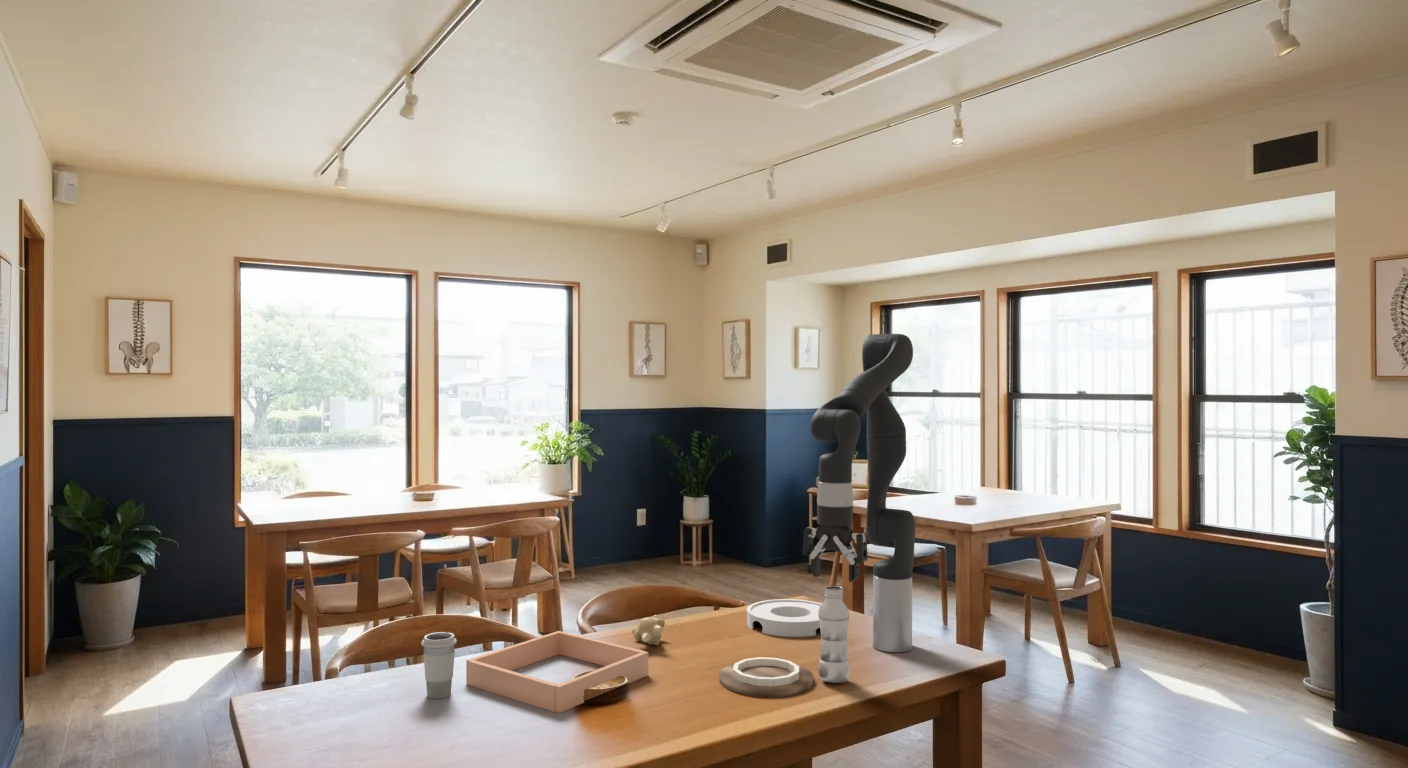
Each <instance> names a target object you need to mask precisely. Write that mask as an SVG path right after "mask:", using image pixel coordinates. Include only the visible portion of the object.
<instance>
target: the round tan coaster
mask: <svg viewBox="0 0 1408 768" xmlns="http://www.w3.org/2000/svg"><path fill="white" fill-rule="evenodd" d="M735 663H736V662H735ZM735 663H731V664H728V665H726V666H725V667H723V668H722V669H720V671H719V678H718V679H719V683H720V685H721V686H722V687H724V688H725V689H727V690H729V691H731V692H734V693H735V694H740V695H745V696H750V697H757V696H758V698H779V697H780V698H781V697H782V698H783V697H789V696H795V695H799V694H802V693H804V692H806V691H808V690H810V689H811V688H812V686H813V684H814V674H813V673H812V672H811V671H810V670H809V669H808V668H806V667H804V666H802V665H799V664H797V665H798V666H799V679H798V680H796V681H794V682H793V683H791V684H786V685H780V686H755V685H751V684H747V683H743V682H740V681H739V680H737V679H736V678H734V677H733V667H734V664H735ZM740 671H741V672H743V673H744V674H747V675H752V676H756V677H779V676H786V675H788V674H790V673H792V672H791V671H790V670H788V669H785V668H781V667H776V666H753V667H747V668H744V669H742V670H740Z"/></svg>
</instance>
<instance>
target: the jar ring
mask: <svg viewBox="0 0 1408 768" xmlns="http://www.w3.org/2000/svg"><path fill="white" fill-rule="evenodd" d="M733 664H734V663H733ZM798 665H799V664H796V663H795V662H793V661H791V660H788V659H782V658H777V657H762V656H761V657H759V656H758V657H751V658H743V659H741V660H739V661H737V662H735V664H734V667H733V677H734V678H736V679H737V680H739V681H740V682H743V683H747V684H751V685H755V686H780V685H786V684H791V683H793V682H794V681H796V680H798V679H799V666H798ZM753 666H776V667H781V668H785V669H788V670H790V671H791V672H792V673H790V674H788V675H786V676H779V677H756V676H752V675H747V674H744V673H743V672H741V671H740V670H742V669H744V668H747V667H753Z"/></svg>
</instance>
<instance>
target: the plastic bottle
mask: <svg viewBox="0 0 1408 768" xmlns="http://www.w3.org/2000/svg"><path fill="white" fill-rule="evenodd" d="M824 589H825V590H824V597H825V599H824V601H823V602H821V603H822V605H821V606H820V608H819V611H818V616H819V623H820V628H819V629H820V652H819V653H820V654H819V655H820V656H819V660H818V667H817V669H818V676H819V677H820V679H821V680H822V681H823V682H826V683H831V684H842V683H846V682H847V681H848V679H849V677H850V672H851V669H850V662H849V656H848V645H847V643H848V641H847V639H848V628H849V620H850V619H849V618H850V611H849V608H848V607H847V605H846V602H844V600H843V598H844V589H843V587H841V586H838V585H837V586H836V585H832V586H831V585H830V586H829V585H827V586H826V587H825V588H824Z"/></svg>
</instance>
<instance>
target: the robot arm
mask: <svg viewBox="0 0 1408 768" xmlns="http://www.w3.org/2000/svg"><path fill="white" fill-rule="evenodd" d="M861 352H862V353H861V359H862V372H861V373H859V374H857V375H856V376H854V377H852V378H851V379H850V380H849V381H848V382H847V383H846V385H845V386H844V387H843V389H842V390H841V391H840V392H839V393H838V395H837V396H835V397H833V398H831V399H830V400H828V401H827V402H825V403H824V404H823V405H821V406H820V407H819V408H818V409H817V410H815V412H814V413H813V415H812V418H811V420H810V424H809V428H810V433H811V434H812V436H813V438H814V439H816V440H817V441H819V442H824V443H838V446H837V448H836V450H835V451H833V452H829V453H824V454H822V455H820V456H819V459H818V483H817V484H818V485H817V493H816V494H817V495H816V505H817V506H816V507H817V508H816V514H817V515H816V519H817V520H816V523H817V528H814V527H813V526H807V527H804V528H803V538H802V539H803V540H802V554H803V555H804V556H807V557H809V558H810V572H811V574H812V576H813V577H815V578H818V577H820V576H821V575H822V574H821V573H822V572H821V570H822V567H821V566H822V563H821V562H822V561H821V560H822V558H820V557H821V555H822V554H823V553H824V552H825V551H834V552H838V553H839V552H841V553H842V554H843V556H844V557H845V558H846V559H847V561H848V562H849V564H848V582H849V583H855V582H856V581H857V580H858V579H859V575H860V574H859V573H860V571H859V569H860V568H859V566H860V564H861V563H863V562H866V561H868V557H869V556H868V541H869V543H870V544H871V545H873V546H877V547H884V548H885V547H886V548H892V549H894V551H893V555H892V556H891V557H889V558H887V559H881V560H878V561H876V562H874V563H873V568H872V571H873V572H872V573H873V574H872V587H873V588H872V595H873V596H872V647H873V648H875V649H876V650H879V651H882V652H886V653H905V652H909V651H911V650H912V649H913V569H914V562H915V543H916V540H915V539H916V520H915V517H914V514H913V513H912V512H911V511H909V510H906V509H897V508H888V507H887V505H886V504H887V503H886V502H887V493H888V490H889V486H890V485H891V482H892V481H893V480H894V478H895V476H896V474H897V473H898V471H899V470H900V468H901V467H902V465H903V463H904V461H905V458H906V456H907V455H906V454H907V429H906V425H905V423H904V421H903V419H902V417H901V415H900V414H899V412H898V411H897V409H896V408H895V406H894V404H893V402H892V400H890V398H889V395H888V394H887V391H886V389H887V388H888V387H889V386H890V385H891V384H893V383H894V382H896V380H897V379H898V378H899V377H900V376H902V375H903V374H904V373H905V372H906V371H907V370H908V369H909V368H910V366H911V364H912V361H913V357H914V347H913V343H912V341H911V339H910V337H909V336H907V335H906V334H903V333H879V334H878V333H877V334H873V333H872V334H868V335H867V336H865V338H864V340H863V344H862V349H861ZM865 414H866V451H867V472H868V473H867V475H868V476H867V477H868V478H867V484H868V485H867V487H868V488H867V501H866V502H867V503H866V504H867V505H866V516H865V517H866V519H865V520H866V522H865V528H866V530H865V531H866V532H861V533H856V532H854V531H853V523H854V521H853V520H854V517H853V515H854V505H853V504H854V501H853V500H854V493H853V491H854V490H853V483H852V481H853V479H852V478H853V466H852V465H853V460H854V457H855V452H856V447H857V444H858V441H859V438H860V434H861V429H862V428H861V427H862V425H861V420H860V419H861V418H862V417H863V416H864V415H865ZM815 537H817V539H818V542H817V543H816V545H815V546H814V541H815V540H814V539H815ZM853 540H854V543H855V544H856V549H855V547H854V546H853V543H852V542H853Z"/></svg>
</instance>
